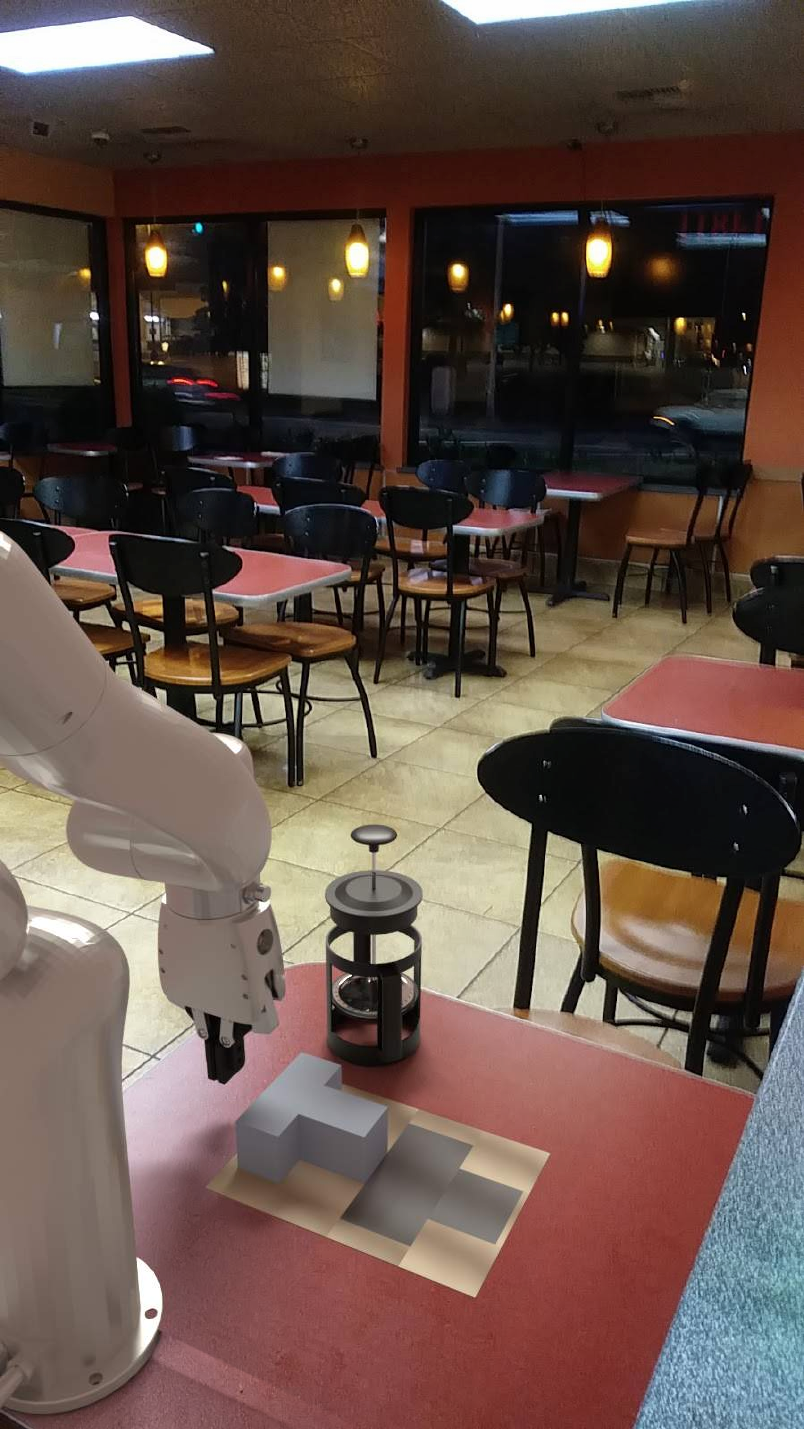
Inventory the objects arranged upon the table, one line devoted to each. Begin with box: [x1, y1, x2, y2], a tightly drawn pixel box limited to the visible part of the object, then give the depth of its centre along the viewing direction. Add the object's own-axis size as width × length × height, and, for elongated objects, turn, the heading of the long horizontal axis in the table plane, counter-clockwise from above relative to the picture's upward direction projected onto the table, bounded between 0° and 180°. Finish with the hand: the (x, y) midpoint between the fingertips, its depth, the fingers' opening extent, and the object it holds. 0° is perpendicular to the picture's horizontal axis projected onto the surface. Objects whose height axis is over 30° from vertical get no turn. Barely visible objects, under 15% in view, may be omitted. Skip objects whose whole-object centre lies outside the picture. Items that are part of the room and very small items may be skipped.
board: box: [204, 1083, 551, 1299], centre depth 86 cm, size 16×23×1 cm
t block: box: [234, 1052, 388, 1184], centre depth 88 cm, size 10×10×4 cm
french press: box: [324, 823, 424, 1068], centre depth 99 cm, size 12×9×23 cm
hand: (226, 1072), depth 92 cm, fingers closed
